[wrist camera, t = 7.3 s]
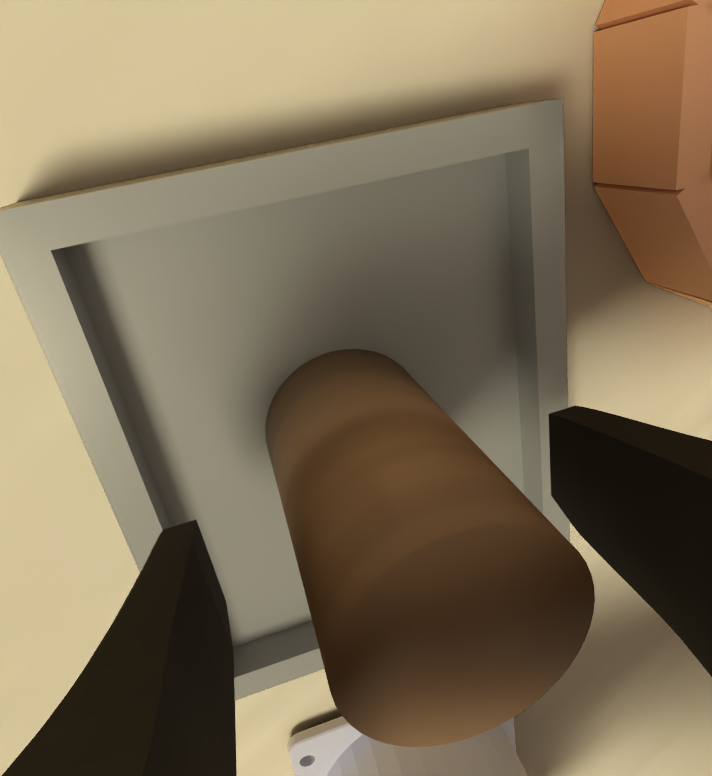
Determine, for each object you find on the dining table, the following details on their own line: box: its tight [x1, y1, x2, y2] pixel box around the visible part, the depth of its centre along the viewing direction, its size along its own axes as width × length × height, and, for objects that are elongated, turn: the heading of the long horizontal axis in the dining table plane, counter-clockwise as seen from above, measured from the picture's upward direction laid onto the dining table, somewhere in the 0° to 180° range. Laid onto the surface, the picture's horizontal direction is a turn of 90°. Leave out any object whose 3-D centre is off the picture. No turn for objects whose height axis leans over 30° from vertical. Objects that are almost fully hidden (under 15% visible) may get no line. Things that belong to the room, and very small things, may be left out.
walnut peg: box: [265, 349, 595, 747], centre depth 11 cm, size 4×4×7 cm
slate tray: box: [0, 98, 570, 700], centre depth 14 cm, size 13×11×2 cm
